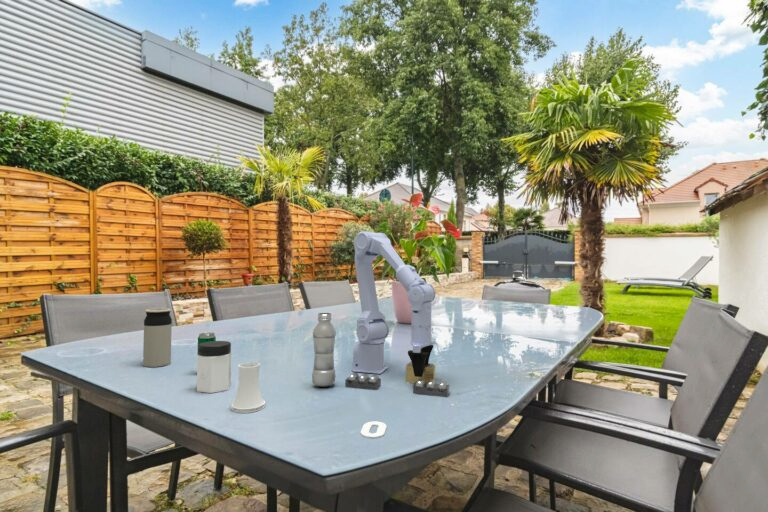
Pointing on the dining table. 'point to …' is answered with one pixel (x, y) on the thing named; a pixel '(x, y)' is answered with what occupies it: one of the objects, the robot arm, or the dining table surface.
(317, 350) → the plastic bottle
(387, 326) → the robot arm
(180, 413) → the dining table surface
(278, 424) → the dining table surface
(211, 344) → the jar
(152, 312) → the travel mug
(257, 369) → the vase
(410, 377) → the gold block
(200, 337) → the soda can
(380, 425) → the chain link
